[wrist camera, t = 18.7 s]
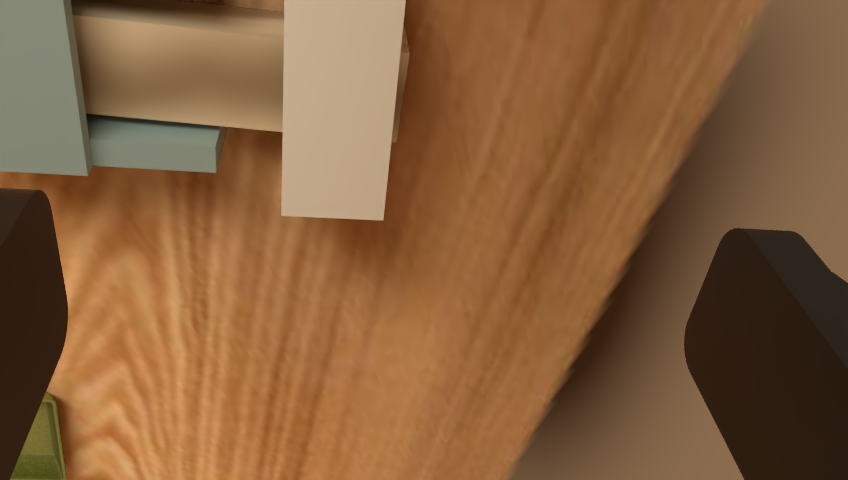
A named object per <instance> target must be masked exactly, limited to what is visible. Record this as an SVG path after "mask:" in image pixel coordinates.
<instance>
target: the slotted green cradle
mask: <svg viewBox="0 0 848 480" xmlns="http://www.w3.org/2000/svg"><path fill="white" fill-rule="evenodd" d="M226 131H227V127H224V126H213V125H203V124H192V123H181V122H171V121H160V120H150V119H139V118H129V117H118V116H108V115H97V114H87V113H86V111H85V104H84V96H83V89H82V82H81V74H80V67H79V59H78V52H77V44H76V37H75V30H74V22H73V15H72V7H71V0H0V171H5V172H23V173H41V174H60V175H78V176H88V175H89V173H90V171H91V169H92V167H93V166H104V167H122V168H139V169H157V170H175V171H192V172H210V173H216V172H217V168H218V164H219V159H220V155H221V151H222V147H223V143H224V139H225V135H226Z"/></svg>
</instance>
